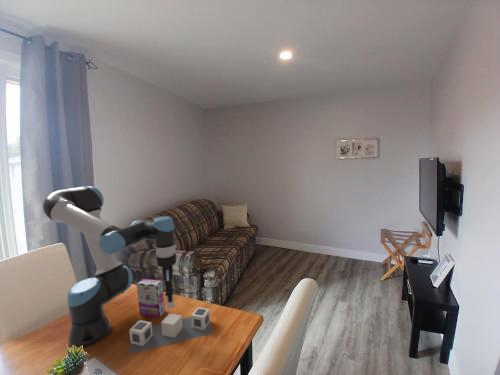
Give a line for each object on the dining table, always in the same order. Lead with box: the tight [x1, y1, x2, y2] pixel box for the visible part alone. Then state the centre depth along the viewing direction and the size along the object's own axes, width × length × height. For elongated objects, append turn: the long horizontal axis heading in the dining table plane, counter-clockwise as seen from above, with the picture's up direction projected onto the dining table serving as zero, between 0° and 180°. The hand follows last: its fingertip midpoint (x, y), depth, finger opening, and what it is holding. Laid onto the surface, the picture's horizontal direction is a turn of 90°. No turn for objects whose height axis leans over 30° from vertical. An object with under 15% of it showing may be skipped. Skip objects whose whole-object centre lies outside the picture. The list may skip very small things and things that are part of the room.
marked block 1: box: [129, 319, 153, 346], centre depth 102 cm, size 6×6×6 cm
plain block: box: [160, 312, 183, 338], centre depth 106 cm, size 6×6×6 cm
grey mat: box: [129, 316, 213, 355], centre depth 106 cm, size 32×14×1 cm, turn 108°
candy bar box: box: [136, 278, 166, 318], centre depth 118 cm, size 11×5×16 cm, turn 76°
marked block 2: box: [190, 306, 211, 330], centre depth 109 cm, size 6×6×6 cm
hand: (170, 307), depth 104 cm, fingers closed
